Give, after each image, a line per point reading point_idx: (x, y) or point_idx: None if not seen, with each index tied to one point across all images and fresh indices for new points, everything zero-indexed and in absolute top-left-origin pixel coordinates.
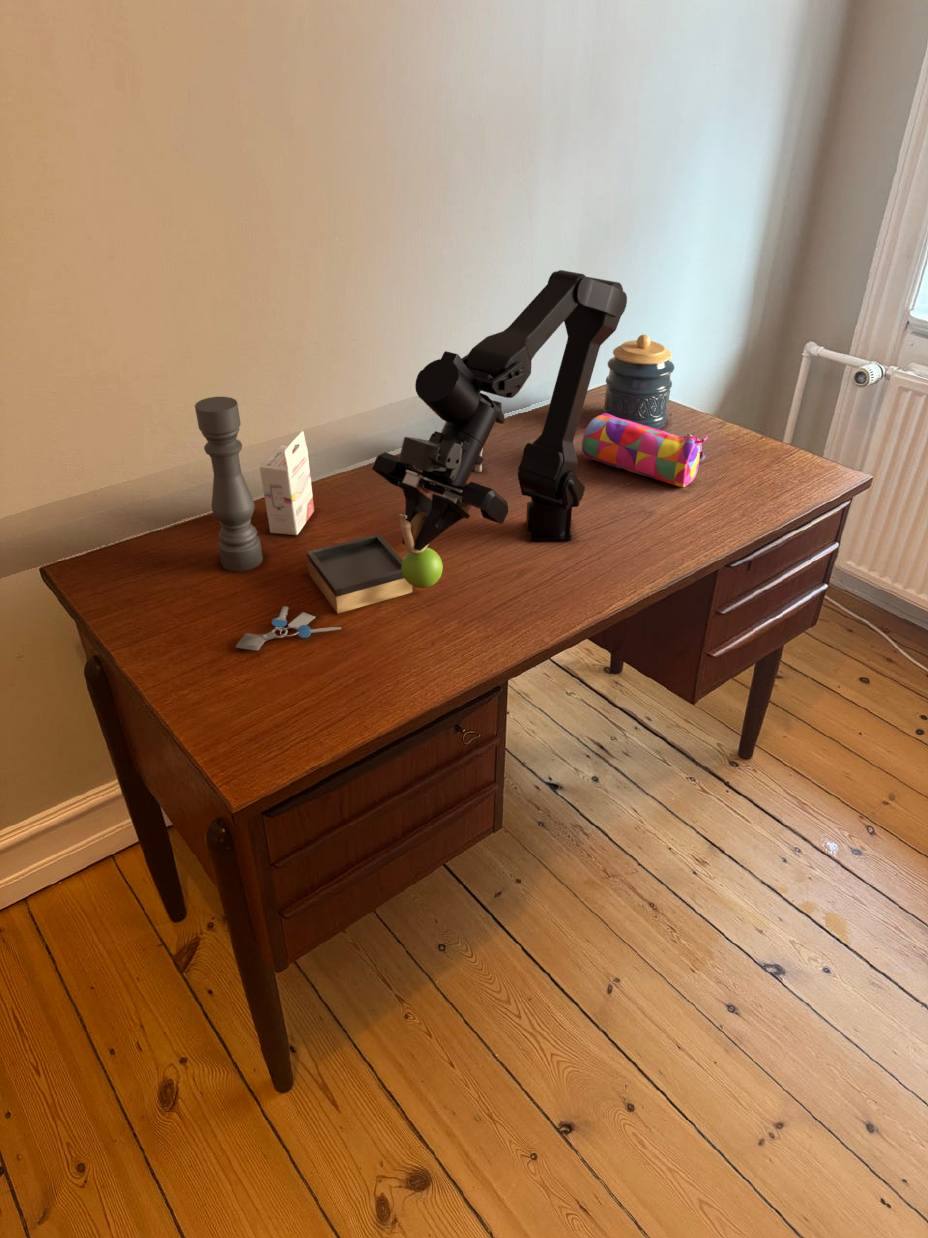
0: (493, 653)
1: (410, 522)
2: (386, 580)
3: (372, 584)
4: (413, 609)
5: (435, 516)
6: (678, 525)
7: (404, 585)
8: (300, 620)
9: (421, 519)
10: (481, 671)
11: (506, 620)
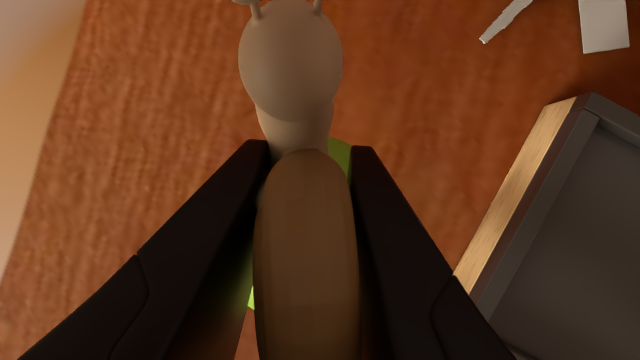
0: (85, 198)
1: (368, 244)
2: (495, 254)
3: (519, 209)
4: None
5: (66, 340)
6: None
7: None
8: (607, 10)
9: (262, 289)
10: (69, 117)
11: None
